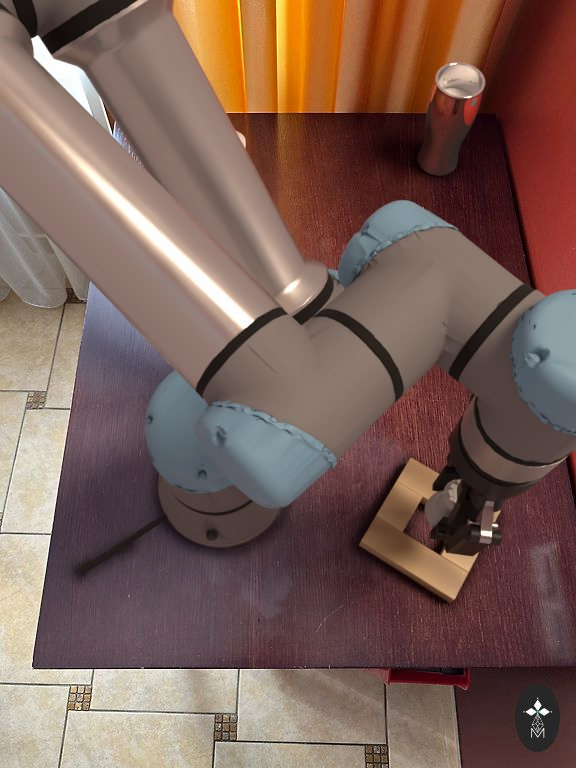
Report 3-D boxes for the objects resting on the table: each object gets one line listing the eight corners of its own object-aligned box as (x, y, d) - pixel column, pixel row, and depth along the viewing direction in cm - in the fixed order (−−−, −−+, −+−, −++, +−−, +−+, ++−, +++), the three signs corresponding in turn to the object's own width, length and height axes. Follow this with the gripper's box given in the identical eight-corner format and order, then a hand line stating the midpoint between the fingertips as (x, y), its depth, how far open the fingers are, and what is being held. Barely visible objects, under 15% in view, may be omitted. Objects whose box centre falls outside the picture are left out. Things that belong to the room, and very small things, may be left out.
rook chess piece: (465, 494, 74) (485, 472, 67) (465, 536, 72) (486, 518, 65) (423, 490, 74) (439, 468, 67) (423, 531, 72) (438, 513, 65)
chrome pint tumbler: (405, 151, 105) (424, 70, 91) (445, 137, 106) (469, 54, 92) (428, 184, 102) (451, 105, 89) (468, 169, 103) (497, 89, 90)
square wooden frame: (449, 603, 78) (454, 600, 75) (358, 545, 80) (360, 541, 78) (495, 515, 82) (501, 510, 79) (407, 463, 84) (410, 457, 82)
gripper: (563, 561, 48) (477, 602, 69) (557, 340, 55) (481, 439, 76) (455, 546, 48) (403, 592, 69) (463, 329, 55) (413, 431, 77)
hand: (444, 512), depth 73 cm, fingers closed on rook chess piece, 4 cm apart
